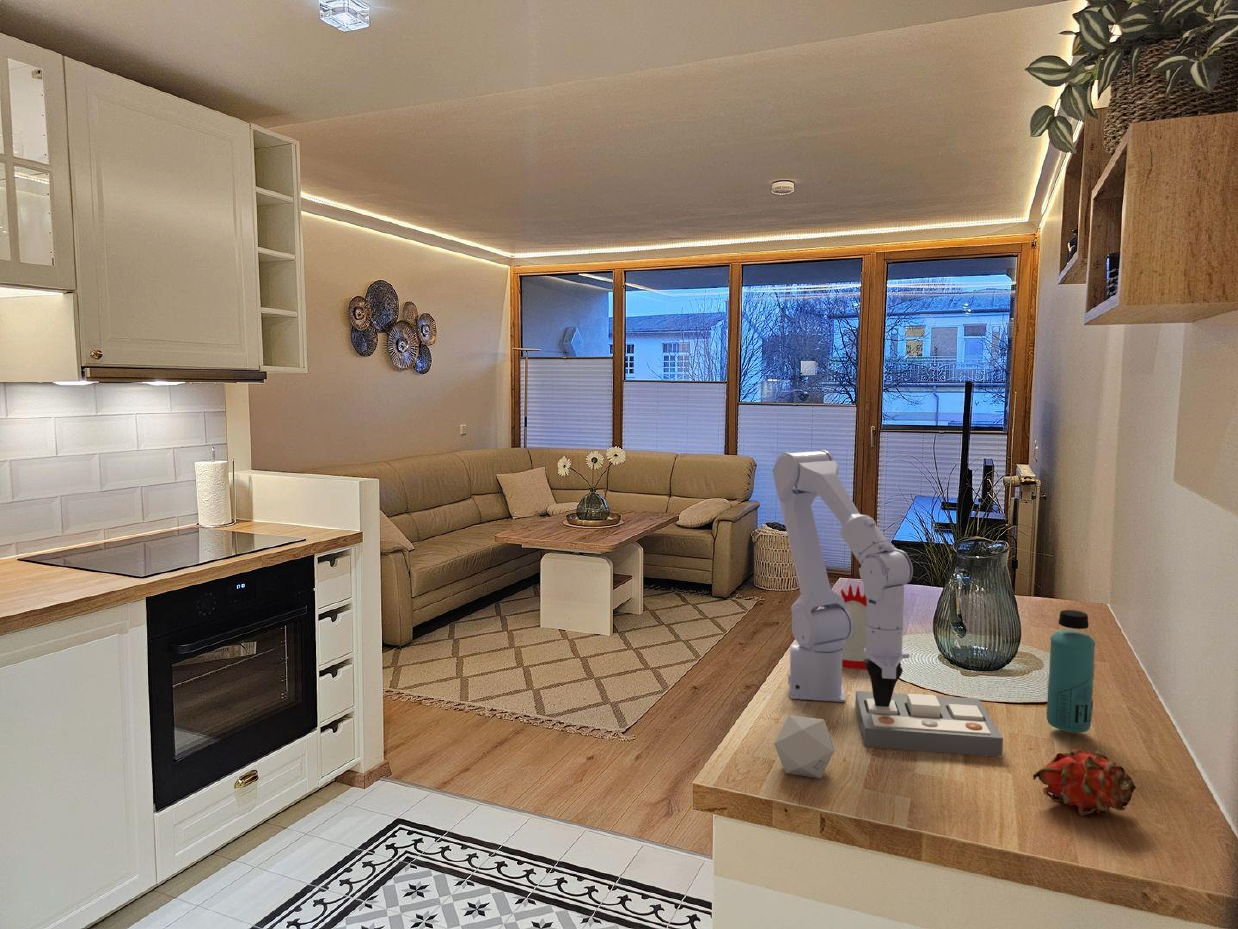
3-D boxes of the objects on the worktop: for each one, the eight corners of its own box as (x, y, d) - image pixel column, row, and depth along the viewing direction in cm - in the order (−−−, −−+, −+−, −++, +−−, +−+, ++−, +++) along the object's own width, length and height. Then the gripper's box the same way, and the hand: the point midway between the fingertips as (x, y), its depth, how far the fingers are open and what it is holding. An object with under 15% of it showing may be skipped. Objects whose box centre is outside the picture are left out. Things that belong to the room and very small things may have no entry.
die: (807, 797, 113) (847, 741, 113) (756, 755, 117) (796, 700, 117) (813, 790, 121) (851, 737, 121) (765, 751, 124) (802, 699, 124)
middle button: (911, 716, 131) (911, 704, 131) (906, 705, 135) (907, 693, 135) (940, 718, 130) (940, 706, 130) (934, 707, 135) (935, 695, 134)
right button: (953, 727, 130) (954, 715, 130) (947, 715, 134) (948, 703, 134) (982, 729, 129) (983, 717, 129) (976, 717, 134) (976, 705, 133)
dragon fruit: (1142, 834, 105) (1038, 826, 111) (1130, 772, 111) (1032, 767, 116) (1142, 801, 100) (1034, 794, 106) (1130, 739, 106) (1028, 735, 112)
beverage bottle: (1074, 745, 127) (1081, 620, 124) (1035, 729, 132) (1041, 609, 130) (1100, 736, 130) (1108, 614, 127) (1060, 721, 135) (1067, 604, 133)
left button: (869, 721, 132) (869, 709, 132) (866, 710, 137) (866, 698, 137) (897, 723, 132) (897, 711, 131) (893, 711, 136) (893, 700, 136)
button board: (864, 746, 127) (865, 726, 126) (855, 707, 141) (855, 688, 141) (1002, 757, 123) (1003, 736, 123) (977, 715, 138) (978, 696, 137)
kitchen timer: (886, 673, 158) (888, 597, 156) (813, 664, 162) (815, 591, 160) (888, 649, 170) (891, 579, 169) (821, 642, 175) (823, 574, 173)
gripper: (917, 640, 125) (914, 725, 126) (903, 613, 139) (900, 689, 140) (869, 638, 126) (867, 722, 127) (860, 611, 140) (858, 687, 142)
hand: (881, 705), depth 134 cm, fingers closed, pressing on left button
